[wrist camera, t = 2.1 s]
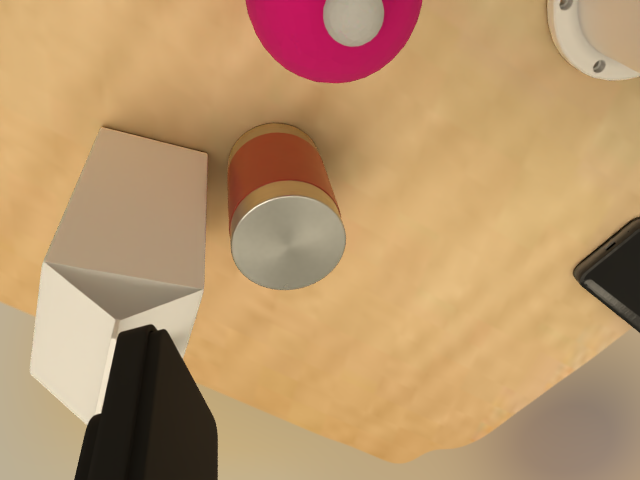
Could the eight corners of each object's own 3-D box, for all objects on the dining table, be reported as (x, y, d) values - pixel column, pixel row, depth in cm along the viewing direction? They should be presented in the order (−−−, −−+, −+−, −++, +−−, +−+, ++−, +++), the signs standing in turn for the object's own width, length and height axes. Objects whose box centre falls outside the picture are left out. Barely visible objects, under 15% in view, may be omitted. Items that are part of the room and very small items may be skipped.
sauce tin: (311, 111, 38) (336, 181, 30) (328, 194, 42) (354, 276, 34) (215, 134, 38) (214, 211, 30) (241, 215, 42) (247, 302, 33)
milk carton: (86, 214, 40) (3, 443, 24) (100, 124, 36) (14, 325, 21) (186, 234, 42) (168, 456, 26) (208, 151, 38) (203, 351, 23)
